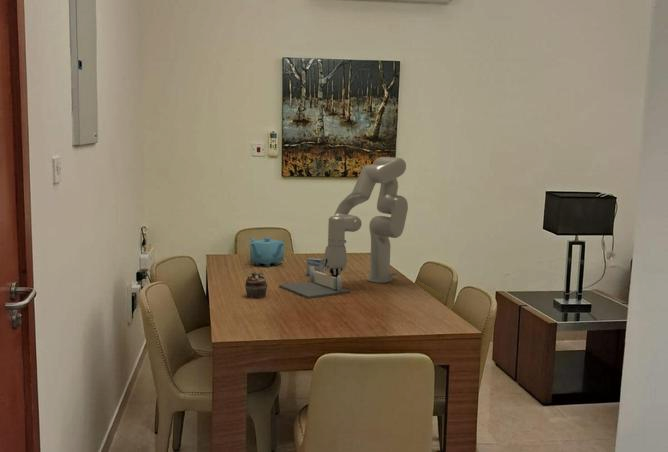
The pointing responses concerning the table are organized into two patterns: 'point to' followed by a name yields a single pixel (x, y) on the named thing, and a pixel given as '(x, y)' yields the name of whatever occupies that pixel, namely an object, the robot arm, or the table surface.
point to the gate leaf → (325, 279)
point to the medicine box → (315, 265)
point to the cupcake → (256, 286)
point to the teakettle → (266, 251)
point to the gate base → (314, 288)
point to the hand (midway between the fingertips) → (335, 282)
